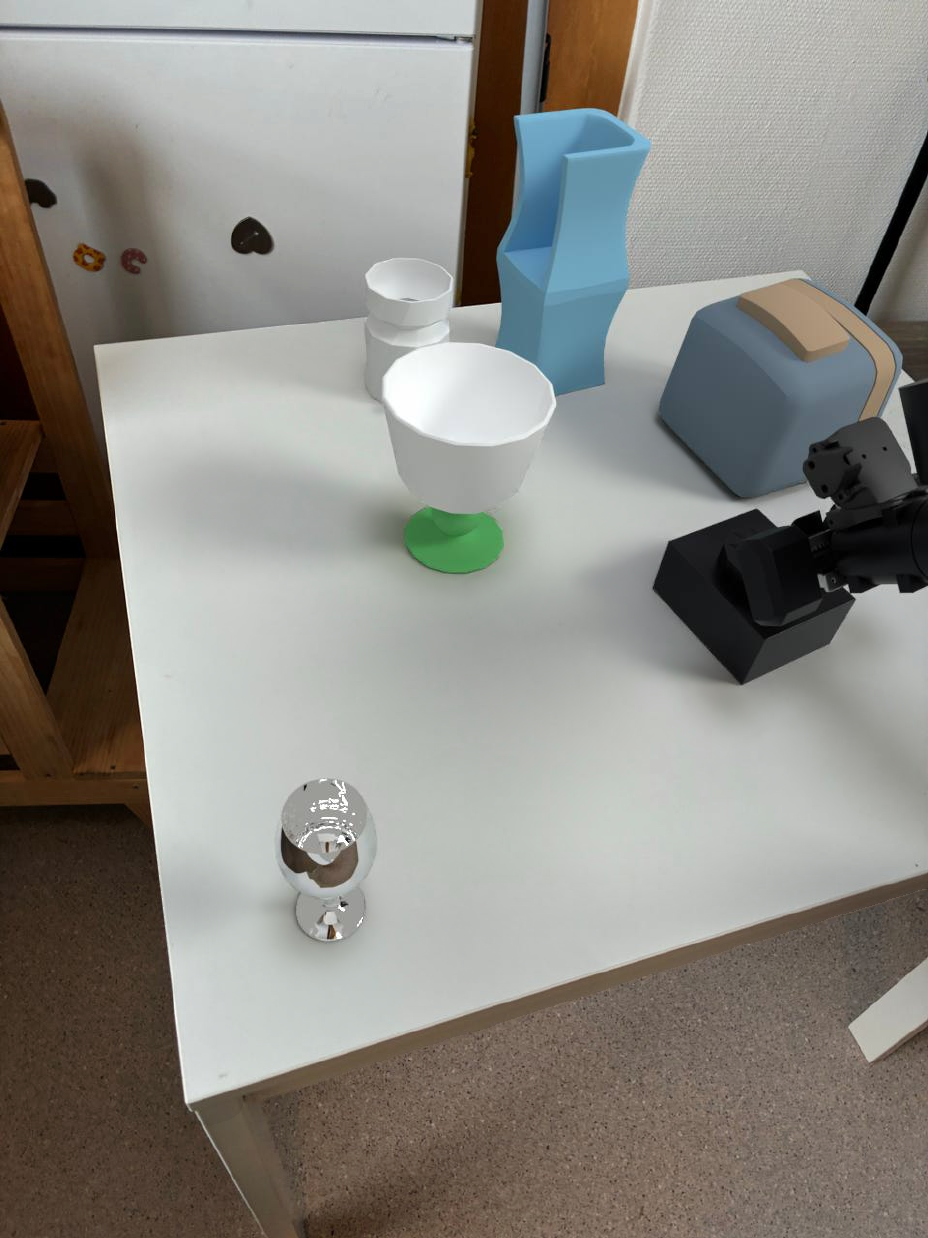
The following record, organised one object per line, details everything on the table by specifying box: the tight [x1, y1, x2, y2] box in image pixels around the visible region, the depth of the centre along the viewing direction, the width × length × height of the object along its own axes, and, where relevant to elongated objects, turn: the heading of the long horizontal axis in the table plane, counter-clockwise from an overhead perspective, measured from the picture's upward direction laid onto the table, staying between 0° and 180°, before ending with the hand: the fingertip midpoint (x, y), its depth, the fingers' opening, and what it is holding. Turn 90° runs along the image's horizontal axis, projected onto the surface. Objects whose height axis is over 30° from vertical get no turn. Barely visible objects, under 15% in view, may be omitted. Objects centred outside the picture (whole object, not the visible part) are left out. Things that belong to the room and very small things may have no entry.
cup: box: [381, 341, 557, 574], centre depth 76 cm, size 14×14×16 cm
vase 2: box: [494, 107, 652, 397], centre depth 91 cm, size 10×10×25 cm
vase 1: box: [363, 257, 454, 404], centre depth 92 cm, size 9×9×12 cm
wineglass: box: [274, 778, 378, 943], centre depth 53 cm, size 6×6×12 cm
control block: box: [651, 507, 857, 686], centre depth 75 cm, size 12×10×8 cm
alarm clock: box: [658, 277, 904, 498], centre depth 89 cm, size 16×16×16 cm
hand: (768, 550), depth 72 cm, fingers closed, pressing on button
